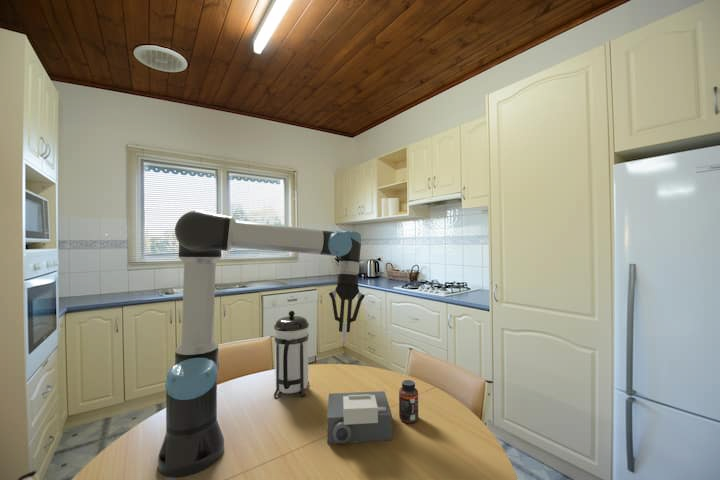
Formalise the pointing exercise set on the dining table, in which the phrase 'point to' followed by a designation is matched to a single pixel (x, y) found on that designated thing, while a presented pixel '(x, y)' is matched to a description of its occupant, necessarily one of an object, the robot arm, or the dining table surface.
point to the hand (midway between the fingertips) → (343, 341)
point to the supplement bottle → (408, 402)
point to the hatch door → (360, 409)
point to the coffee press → (291, 354)
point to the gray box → (358, 431)
